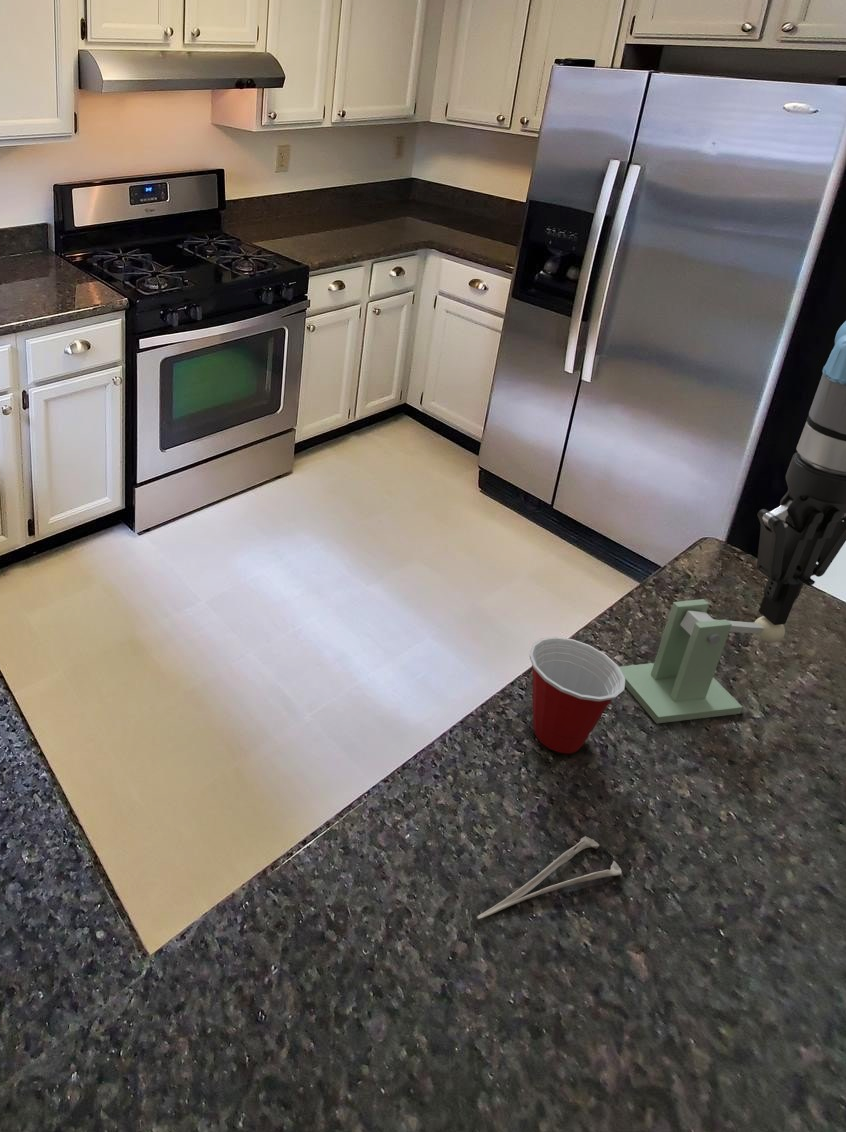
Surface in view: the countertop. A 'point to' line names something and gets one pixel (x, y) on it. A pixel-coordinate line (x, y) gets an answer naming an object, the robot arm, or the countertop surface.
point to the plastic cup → (570, 691)
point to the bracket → (684, 671)
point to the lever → (739, 626)
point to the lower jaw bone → (566, 856)
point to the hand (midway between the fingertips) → (771, 617)
